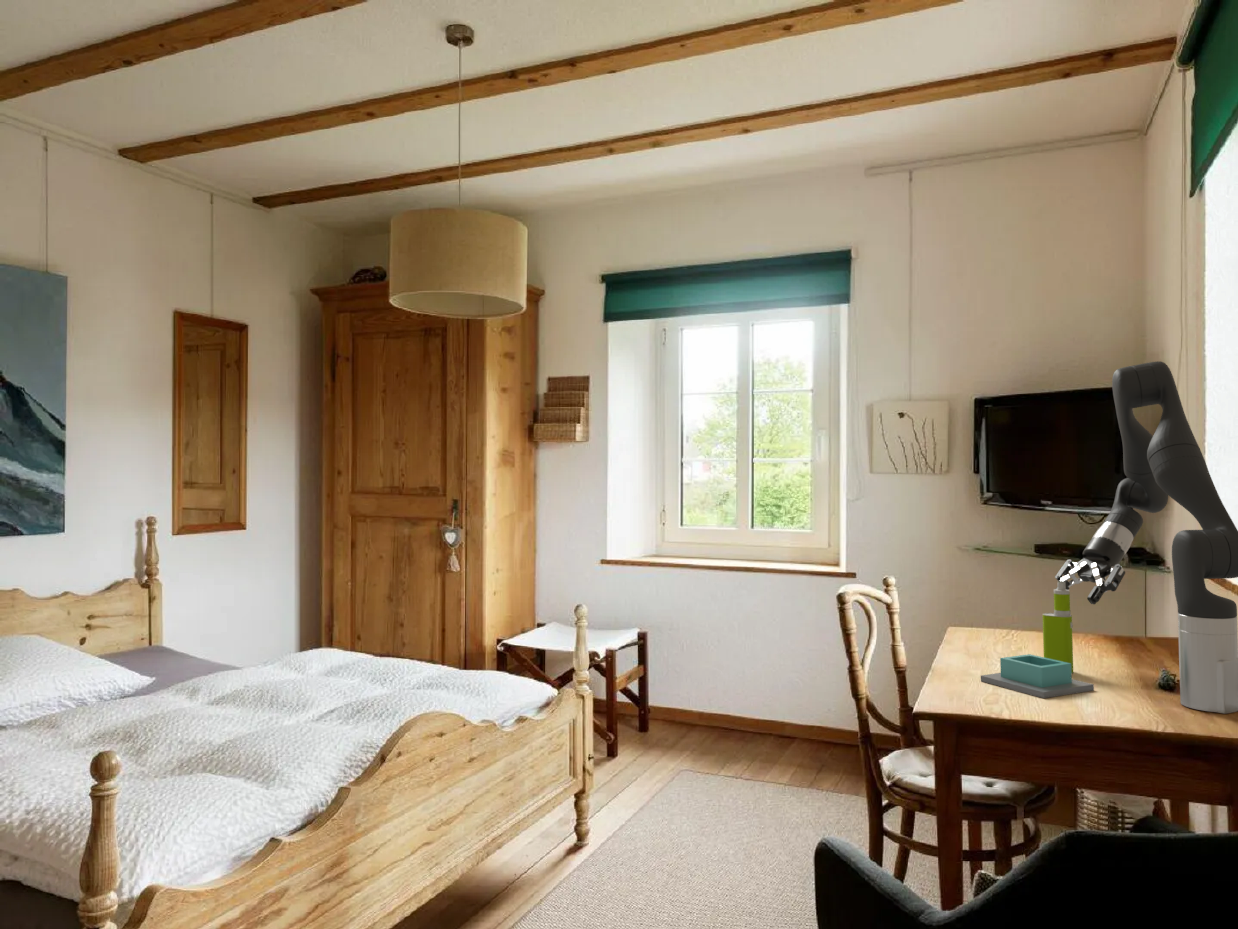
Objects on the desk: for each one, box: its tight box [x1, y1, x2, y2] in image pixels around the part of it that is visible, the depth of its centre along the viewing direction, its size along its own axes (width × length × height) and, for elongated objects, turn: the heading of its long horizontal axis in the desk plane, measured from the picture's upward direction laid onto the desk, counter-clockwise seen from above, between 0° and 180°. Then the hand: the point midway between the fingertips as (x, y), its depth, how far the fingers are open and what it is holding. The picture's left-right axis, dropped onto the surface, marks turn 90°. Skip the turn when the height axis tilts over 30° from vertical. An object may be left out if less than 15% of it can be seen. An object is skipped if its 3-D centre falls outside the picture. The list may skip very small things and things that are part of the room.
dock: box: [980, 653, 1095, 699], centre depth 179 cm, size 16×14×5 cm
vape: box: [1042, 581, 1074, 674], centre depth 191 cm, size 4×6×20 cm, turn 51°
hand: (1073, 599), depth 193 cm, fingers open, 8 cm apart
